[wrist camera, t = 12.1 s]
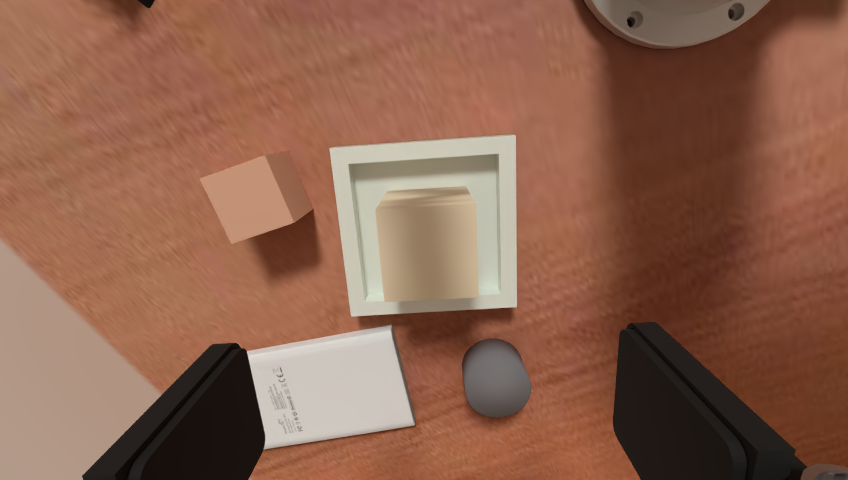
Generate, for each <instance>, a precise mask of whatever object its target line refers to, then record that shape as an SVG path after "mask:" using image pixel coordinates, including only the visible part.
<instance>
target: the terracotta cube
mask: <svg viewBox="0 0 848 480" xmlns="http://www.w3.org/2000/svg"><path fill="white" fill-rule="evenodd" d="M200 180H201V183H202V185H203V187H204V189H205V191H206V193H207V195H208V197H209V199H210V201H211V203H212V205H213V207H214V209H215V211H216V213H217V215H218V217H219V219H220V221H221V223H222V225H223V227H224V230H225V232H226V234H227V236H228V238H229V240H230V242H231V244H233V243H236V242H239V241H242V240H245V239H248V238H251V237H254V236H257V235H260V234H263V233H265V232H268V231H271V230H274V229H277V228H280V227H283V226H286V225H289V224H292V223H295V222H296V221H297V220H299V219H300V218H301V217H303V216H304V215H306V214H307V213H308V212H310V211H311V210H312V209H313V207H312V205H311V202H310V200H309V197H308V195H307V193H306V190H305V188H304V186H303V183H302V181H301V178H300V176H299V174H298V171H297V169H296V167H295V164H294V162H293V159H292V157H291V155H290V152H289V151H285V152H279V153H274V154H269V155H264V156H261V157H259V158H256V159H253V160H250V161H248V162H245V163H242V164H239V165H236V166H234V167H231V168H228V169H225V170H223V171H220V172H217V173H214V174H212V175H209V176H206V177H203V178H201V179H200Z"/></svg>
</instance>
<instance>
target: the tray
mask: <svg viewBox="0 0 848 480" xmlns="http://www.w3.org/2000/svg"><path fill="white" fill-rule="evenodd" d="M330 156H331V164H332V172H333V179H334V187H335V195H336V202H337V210H338V218H339V226H340V233H341V241H342V249H343V256H344V264H345V272H346V280H347V287H348V295H349V303H350V311H351V316H368V315H386V314H403V313H421V312H439V311H456V310H474V309H492V308H509V307H517V259H516V135H511V134H508V135H494V136H480V137H465V138H451V139H437V140H423V141H408V142H394V143H380V144H366V145H351V146H337V147H332V148H330ZM458 186H466V187H467V189H468V191H469V193H470V194H471V196H472V198H473V200H474V201H475V203H476V220H477V256H478V292H479V297H474V298H455V299H436V300H416V301H397V302H384V294H383V284H382V274H381V264H380V253H379V243H378V233H377V223H376V212H375V209H376V208H377V206H378V205H379V203H380V202H381V200H382V198H383V197H384V195H385V194H386V192H387V191H392V190H408V189H425V188H441V187H458Z"/></svg>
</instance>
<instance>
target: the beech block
mask: <svg viewBox="0 0 848 480" xmlns="http://www.w3.org/2000/svg"><path fill="white" fill-rule="evenodd" d="M375 212H376V223H377V233H378V243H379V253H380V264H381V274H382V284H383V294H384V302H397V301H416V300H436V299H455V298H474V297H479V292H478V256H477V220H476V203H475V201H474V200H473V198H472V196H471V194H470V193H469V191H468V189H467V187H466V186H458V187H441V188H425V189H408V190H392V191H387V192H386V194H385V195H384V197H383V198H382V200H381V202H380V203H379V205H378V206H377V208H376V209H375Z"/></svg>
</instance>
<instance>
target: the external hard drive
mask: <svg viewBox="0 0 848 480" xmlns="http://www.w3.org/2000/svg"><path fill="white" fill-rule="evenodd" d="M247 354H248V359H249V363H250V368H251V372H252V377H253V381H254V386H255V390H256V395H257V400H258V404H259V409H260V413H261V418H262V422H263V427H264V431H265V446H264V449H270V448H275V447H282V446H288V445H295V444H301V443H308V442H314V441H320V440H327V439H333V438H339V437H346V436H352V435H358V434H365V433H372V432H378V431H384V430H390V429H396V428H402V427H408V426H414V425H415V419H416V417H415V413H414V409H413V405H412V402H411V398H410V394H409V390H408V386H407V382H406V378H405V374H404V370H403V366H402V362H401V358H400V354H399V350H398V346H397V342H396V338H395V334H394V330H393V326H392V325H387V326H382V327H376V328H371V329H365V330H360V331H355V332H349V333H344V334H339V335H333V336H328V337H322V338H317V339H311V340H306V341H300V342H295V343H289V344H284V345H278V346H273V347H267V348H262V349H256V350H251V351H247Z"/></svg>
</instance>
